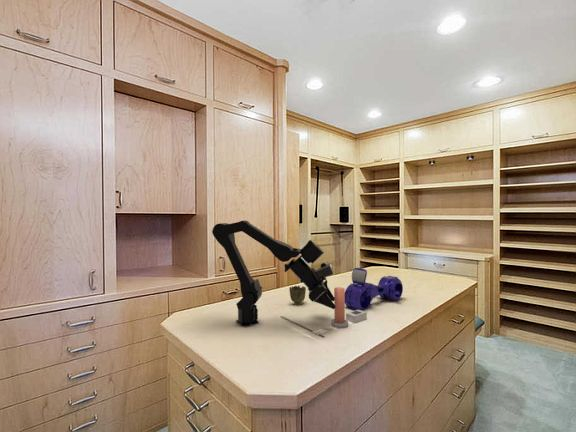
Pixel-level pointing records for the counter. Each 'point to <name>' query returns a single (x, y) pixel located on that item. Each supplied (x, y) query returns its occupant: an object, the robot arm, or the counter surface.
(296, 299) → the cup
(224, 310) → the counter surface
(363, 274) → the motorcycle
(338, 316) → the marker peg
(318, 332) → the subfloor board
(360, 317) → the gray rectangular block
